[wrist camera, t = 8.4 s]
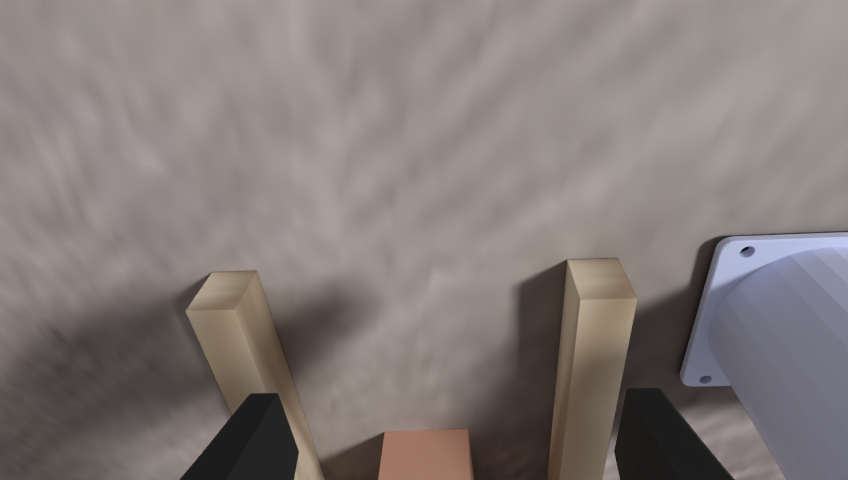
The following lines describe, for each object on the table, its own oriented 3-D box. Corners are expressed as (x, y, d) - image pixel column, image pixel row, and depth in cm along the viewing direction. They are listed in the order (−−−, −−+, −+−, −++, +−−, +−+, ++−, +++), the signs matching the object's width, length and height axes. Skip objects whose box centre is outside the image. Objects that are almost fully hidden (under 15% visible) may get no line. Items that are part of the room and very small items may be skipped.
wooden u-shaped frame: (618, 258, 20) (651, 327, 16) (578, 509, 30) (593, 584, 26) (211, 272, 21) (166, 338, 18) (303, 507, 31) (285, 578, 28)
